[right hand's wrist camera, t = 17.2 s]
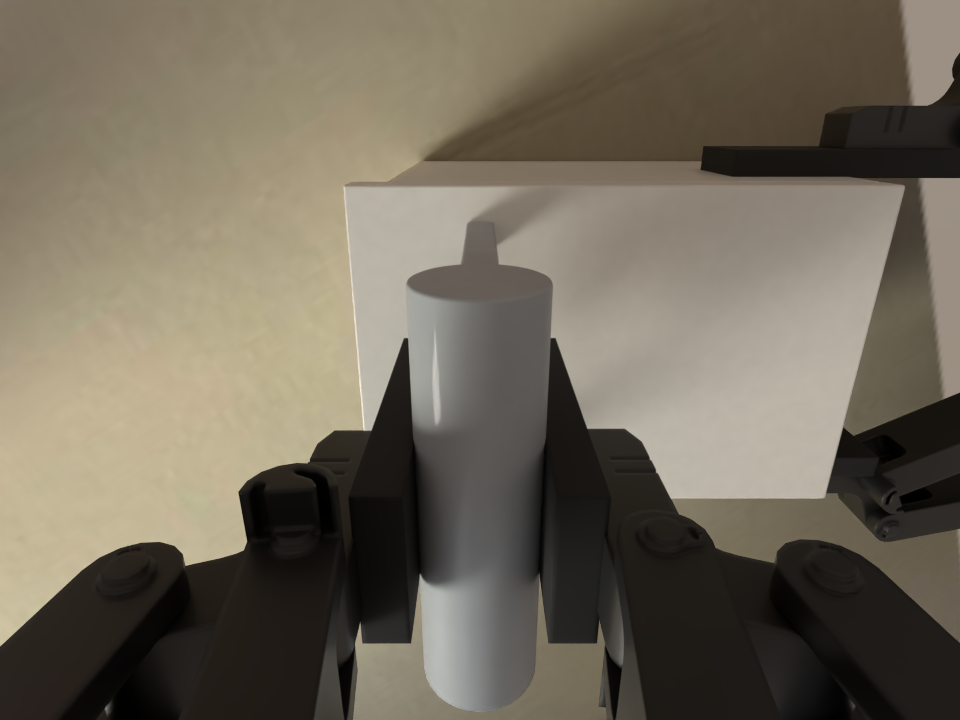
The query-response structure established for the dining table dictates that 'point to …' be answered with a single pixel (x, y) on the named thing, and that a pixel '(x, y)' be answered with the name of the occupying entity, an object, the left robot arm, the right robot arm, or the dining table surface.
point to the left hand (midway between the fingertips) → (695, 317)
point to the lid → (600, 361)
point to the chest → (581, 172)
